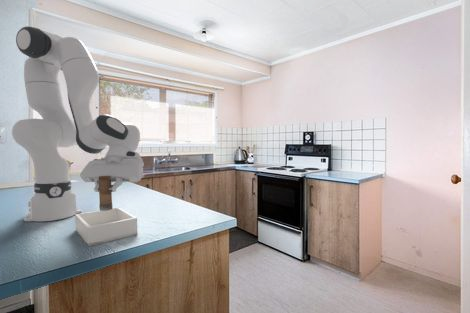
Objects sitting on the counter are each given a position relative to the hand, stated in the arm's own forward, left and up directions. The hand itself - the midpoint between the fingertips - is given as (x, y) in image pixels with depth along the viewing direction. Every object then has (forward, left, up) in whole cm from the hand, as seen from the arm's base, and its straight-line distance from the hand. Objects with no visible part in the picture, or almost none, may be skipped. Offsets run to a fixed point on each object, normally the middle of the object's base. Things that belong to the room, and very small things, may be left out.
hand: (104, 190), depth 80 cm
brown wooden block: (0, 0, -6) cm, 6 cm away
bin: (-1, 0, -14) cm, 14 cm away
